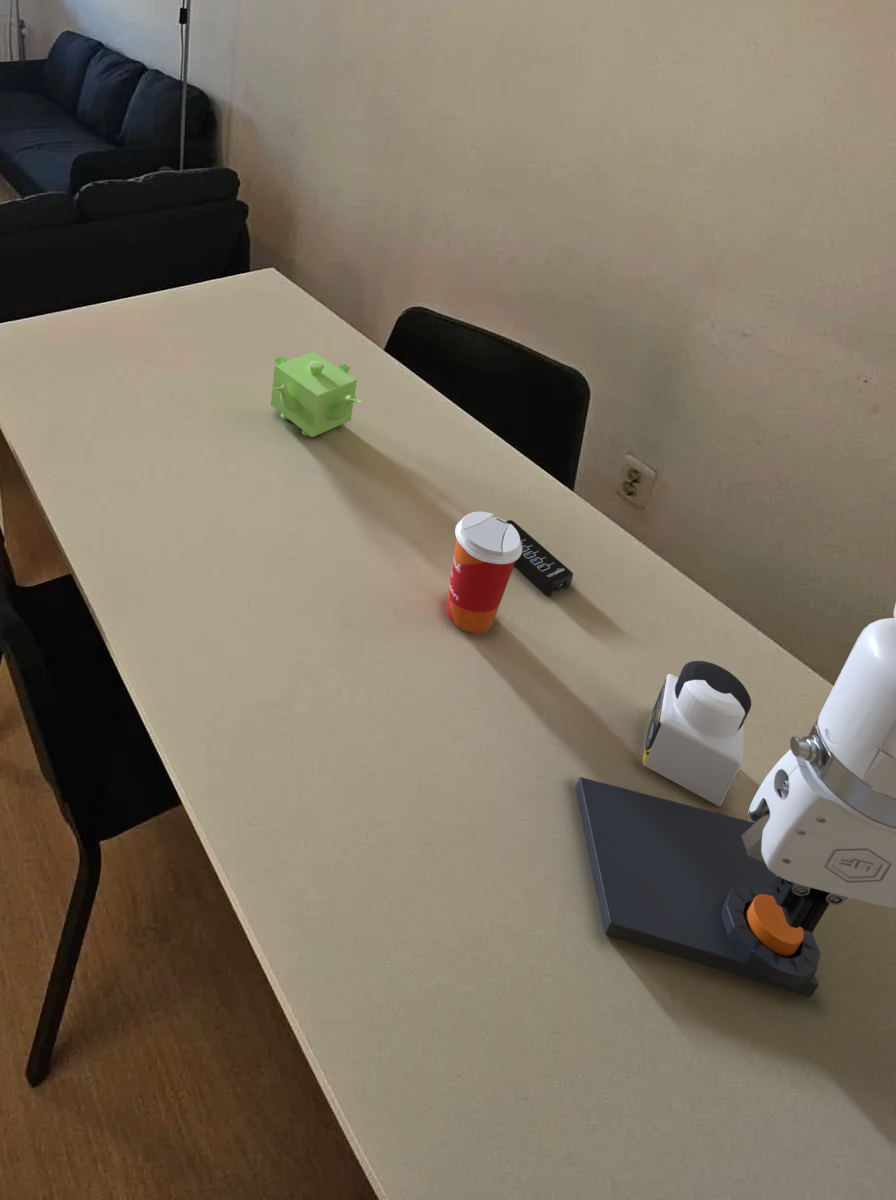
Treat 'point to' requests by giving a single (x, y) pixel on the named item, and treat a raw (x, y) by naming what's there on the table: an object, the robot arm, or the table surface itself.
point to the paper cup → (480, 569)
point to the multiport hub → (541, 565)
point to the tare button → (773, 926)
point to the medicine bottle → (698, 730)
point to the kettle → (313, 393)
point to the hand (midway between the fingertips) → (791, 909)
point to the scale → (684, 884)
